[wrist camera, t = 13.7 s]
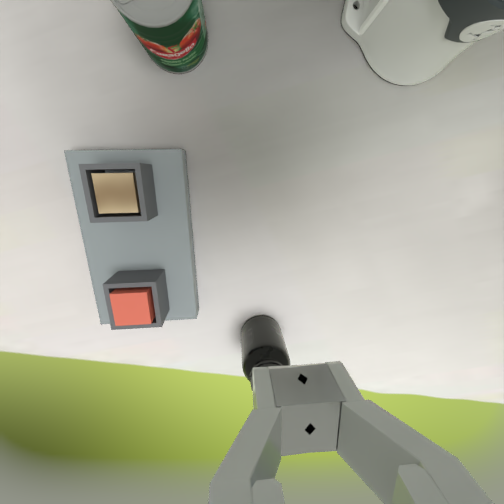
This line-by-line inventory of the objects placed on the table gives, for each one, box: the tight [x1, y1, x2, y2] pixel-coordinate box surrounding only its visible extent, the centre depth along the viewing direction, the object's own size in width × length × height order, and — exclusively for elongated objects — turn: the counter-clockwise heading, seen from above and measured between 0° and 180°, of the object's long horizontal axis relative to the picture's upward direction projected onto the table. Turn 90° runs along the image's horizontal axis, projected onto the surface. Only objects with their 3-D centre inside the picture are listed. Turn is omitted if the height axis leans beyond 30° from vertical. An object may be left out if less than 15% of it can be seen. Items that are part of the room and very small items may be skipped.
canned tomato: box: [111, 0, 208, 74], centre depth 26 cm, size 8×8×11 cm
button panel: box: [64, 149, 199, 330], centre depth 34 cm, size 24×14×8 cm, turn 1°
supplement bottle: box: [241, 316, 290, 391], centre depth 38 cm, size 7×7×12 cm
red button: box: [109, 287, 156, 326], centre depth 34 cm, size 4×4×4 cm
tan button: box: [91, 173, 141, 214], centre depth 31 cm, size 4×4×4 cm
